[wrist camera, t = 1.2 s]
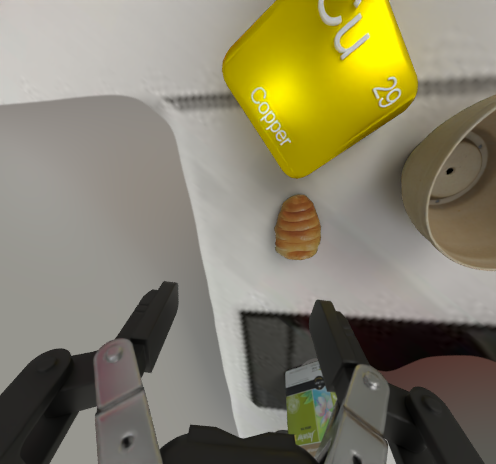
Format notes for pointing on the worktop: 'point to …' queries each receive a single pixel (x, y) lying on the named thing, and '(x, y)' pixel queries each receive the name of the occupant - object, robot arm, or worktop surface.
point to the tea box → (308, 405)
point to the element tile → (320, 77)
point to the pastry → (297, 229)
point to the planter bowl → (457, 187)
